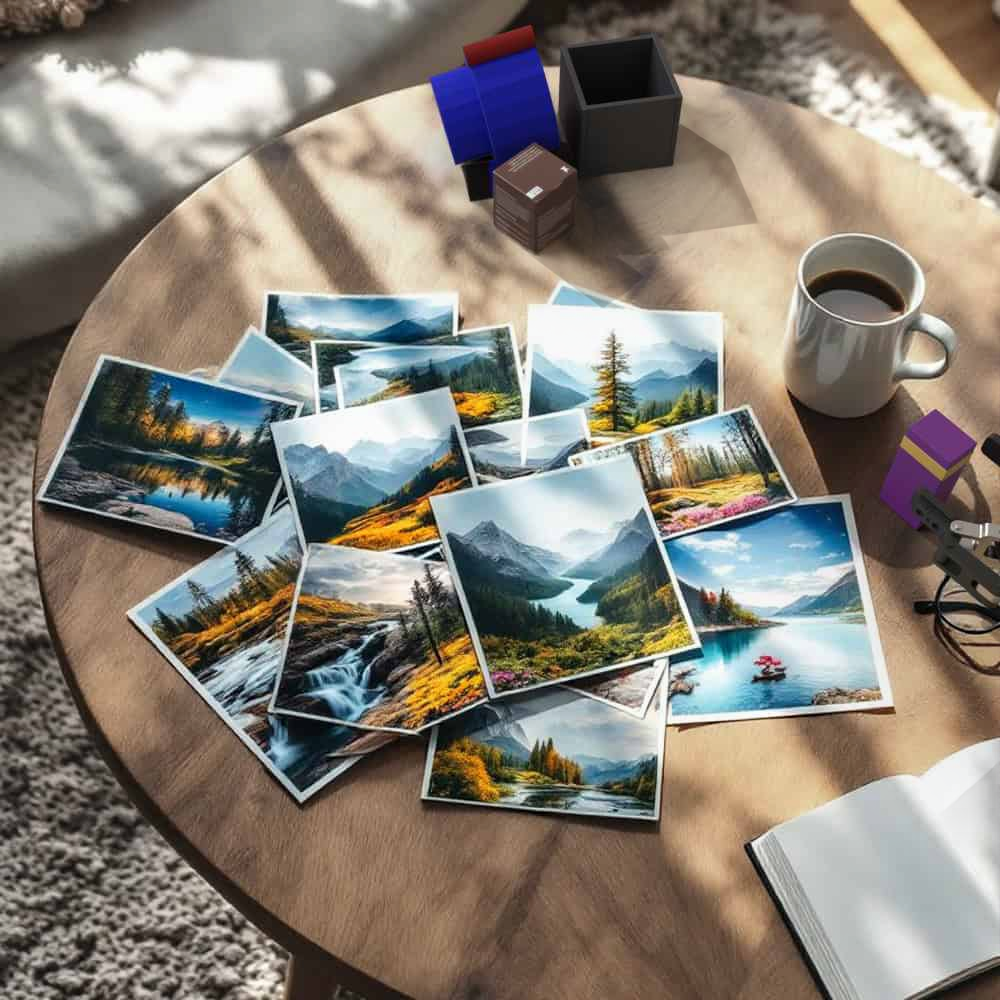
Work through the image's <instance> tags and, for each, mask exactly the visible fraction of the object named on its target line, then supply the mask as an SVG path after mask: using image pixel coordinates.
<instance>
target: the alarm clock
mask: <svg viewBox="0 0 1000 1000" xmlns="http://www.w3.org/2000/svg"><path fill="white" fill-rule="evenodd" d="M461 48H462V54H463V58H464V59H463V60H464V62H465V65H464V66H460V67H458V68H454V69H451V70H449V71H448V70H447V71H444V72H442V73H438V74H436V75H432V76H429V81H430V82H429V83H430V85H431V89H432V93H433V96H434V100H435V103H436V107H437V109H438V113H439V117H440V120H441V123H442V127H443V131H444V133H445V137H446V140H447V144H448V146H449V150H450V153H451V157H452V160H453V163H454V166H459V165H461V164H463V165H461V169H462V173H463V177H464V182H465V186H466V190H467V195H468V200H469V202H476V201H481V200H488V199H493V171H494V170H495V169H497V168H498V167H500V166H501V165H502V164H504V163H505V162H507V161H508V160H510V159H511V158H512V157H514V156H515V155H517V154H518V153H520V152H521V151H522V150H524V149H525V148H527V147H528V146H530V145H531V144H533V143H534V142H535V143H537V144H538V145H540V146H541V147H543V148H544V149H546V150H547V151H549V152H550V153H552V154H553V155H555V156H556V157H558V152H557V149H559V148H560V147H561V139H560V132H559V126H558V125H559V124H558V121H557V116H556V111H555V107H554V103H553V99H552V95H551V91H550V87H549V84H548V80H547V77H546V72H545V69H544V65H543V63H542V60H541V56H540V53H539V50H538V48H537V40H536V36H535V32H534V29H533V26H532V25H531V24H529V25H526V26H523V27H519V28H516V29H513V30H510V31H507V32H503V33H501V34H497V35H494V36H490V37H487V38H483V39H481V40H478V41H475V42H471V43H467V44H465V45H462V46H461ZM487 156H491V157H492V159H490V160H483V161H478V162H471V163H468V162H470V161H474V160H477V159H480V158H481V159H482V158H484V157H487Z"/></svg>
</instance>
